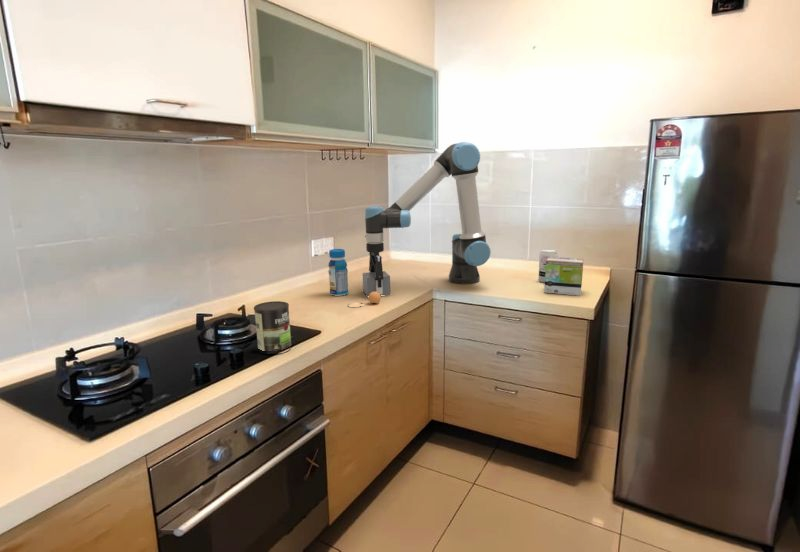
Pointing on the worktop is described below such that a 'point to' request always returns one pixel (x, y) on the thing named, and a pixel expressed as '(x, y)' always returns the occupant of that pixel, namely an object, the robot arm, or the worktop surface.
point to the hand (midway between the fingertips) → (376, 291)
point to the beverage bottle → (338, 272)
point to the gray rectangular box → (370, 283)
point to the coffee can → (272, 326)
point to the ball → (374, 297)
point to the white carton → (542, 262)
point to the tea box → (563, 275)
